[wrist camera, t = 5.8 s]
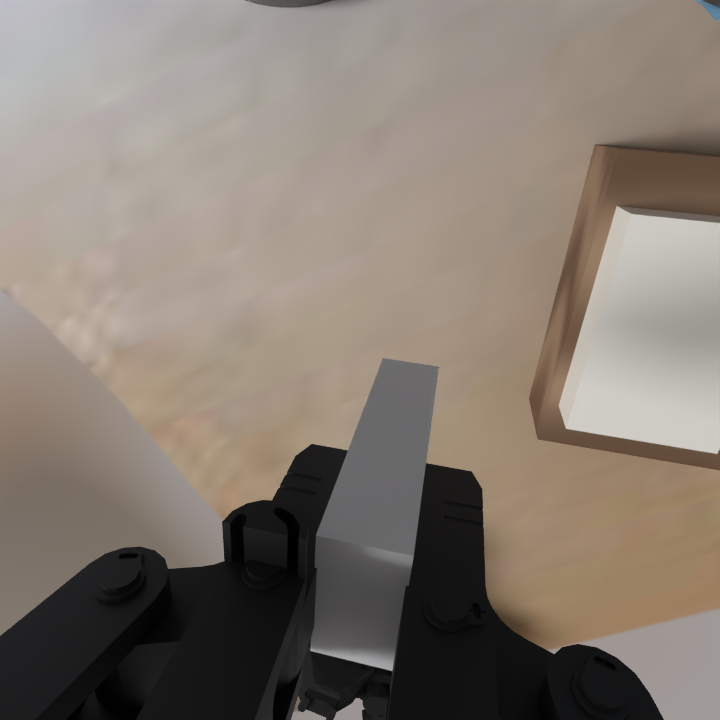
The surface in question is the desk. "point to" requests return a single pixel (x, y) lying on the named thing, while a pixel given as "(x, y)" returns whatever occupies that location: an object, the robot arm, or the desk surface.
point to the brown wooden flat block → (592, 225)
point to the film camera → (342, 686)
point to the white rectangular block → (651, 334)
